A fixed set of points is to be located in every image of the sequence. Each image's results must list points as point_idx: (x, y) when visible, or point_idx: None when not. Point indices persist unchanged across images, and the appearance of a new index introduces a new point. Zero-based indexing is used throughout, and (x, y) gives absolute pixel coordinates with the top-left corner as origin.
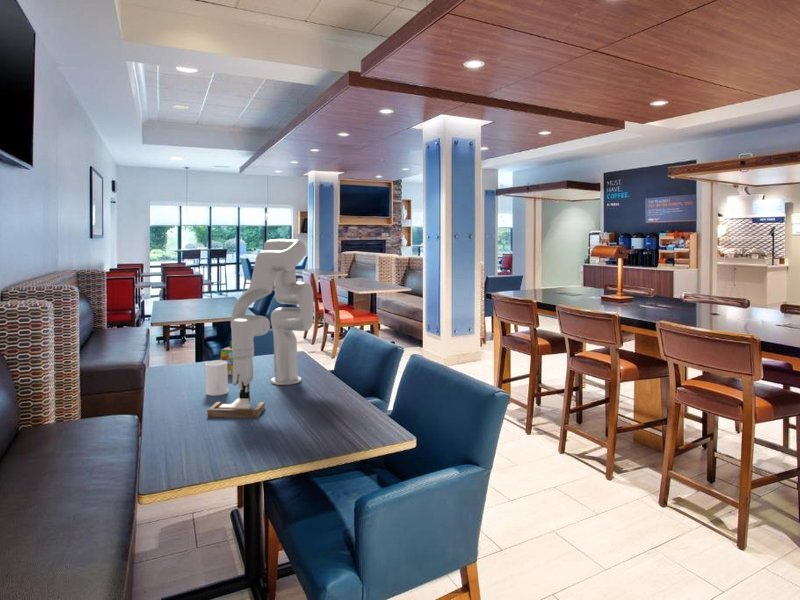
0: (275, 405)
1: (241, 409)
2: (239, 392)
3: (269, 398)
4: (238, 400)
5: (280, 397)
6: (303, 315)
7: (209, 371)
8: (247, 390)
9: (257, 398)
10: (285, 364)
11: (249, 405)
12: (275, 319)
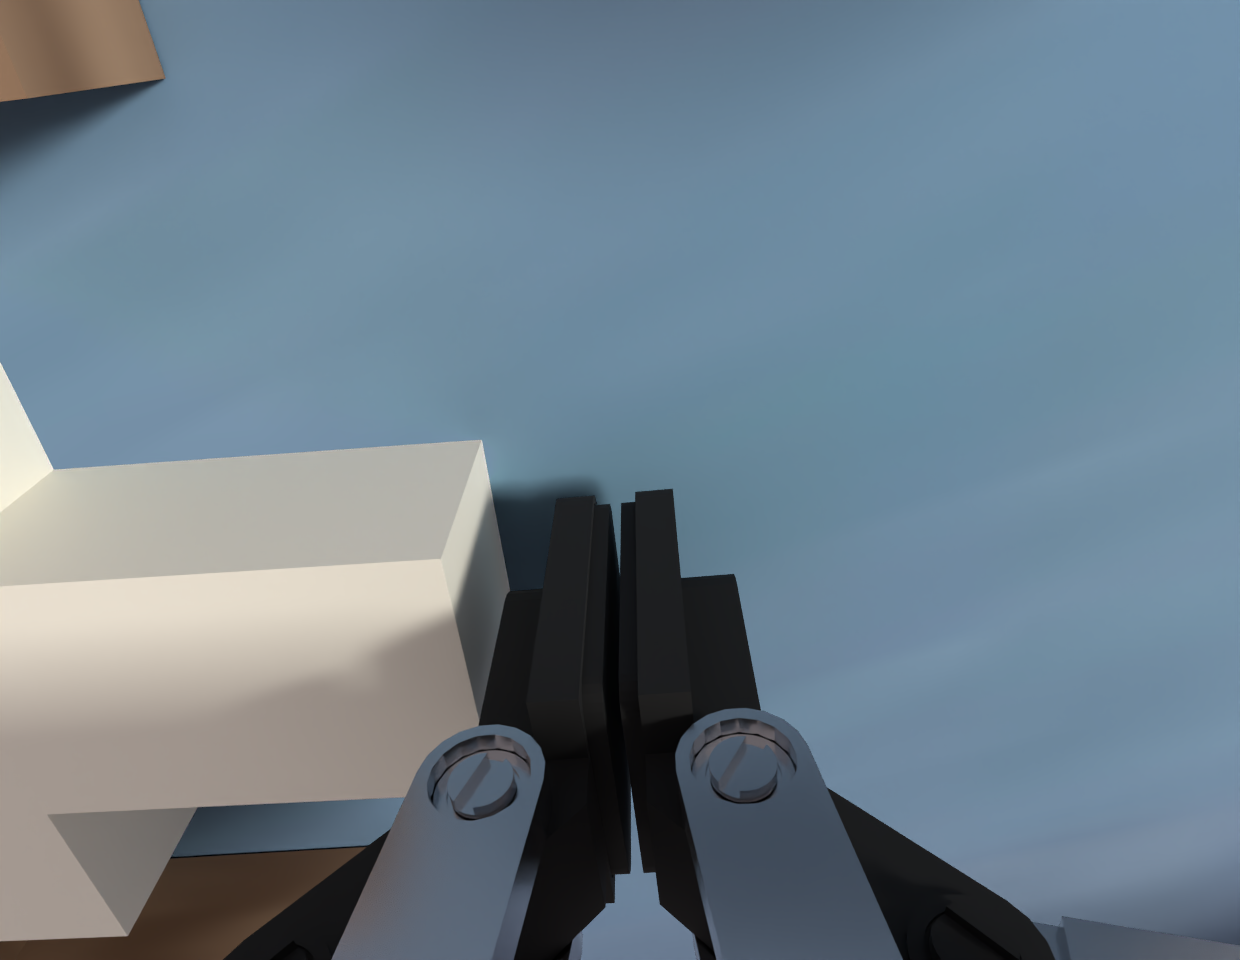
0: (649, 951)
1: None
2: (530, 692)
3: (1055, 803)
4: (270, 643)
5: (1089, 917)
6: None
7: None
8: (568, 946)
9: (1094, 623)
10: None
11: (51, 930)
12: None
